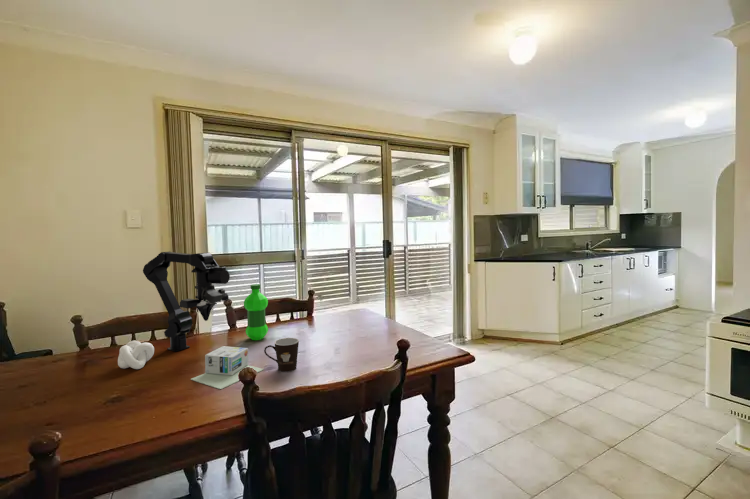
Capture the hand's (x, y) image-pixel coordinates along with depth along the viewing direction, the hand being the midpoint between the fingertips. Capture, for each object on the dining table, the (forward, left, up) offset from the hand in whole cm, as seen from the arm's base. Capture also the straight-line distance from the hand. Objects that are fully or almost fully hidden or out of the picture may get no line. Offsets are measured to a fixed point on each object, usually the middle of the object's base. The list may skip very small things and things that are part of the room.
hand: (206, 320), depth 152 cm
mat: (+28, -12, -13) cm, 33 cm away
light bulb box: (+19, -11, -9) cm, 24 cm away
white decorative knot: (-9, -23, -13) cm, 28 cm away
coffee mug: (+41, +2, -13) cm, 43 cm away
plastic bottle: (+5, +22, -13) cm, 26 cm away
